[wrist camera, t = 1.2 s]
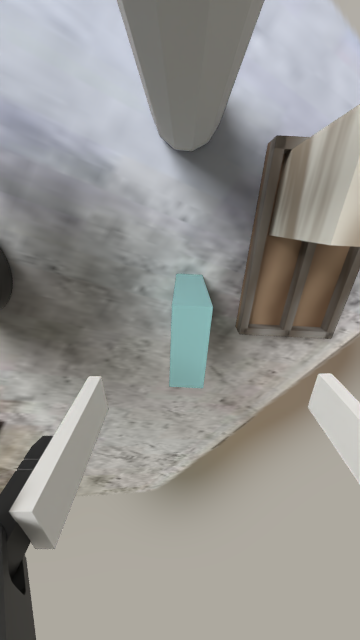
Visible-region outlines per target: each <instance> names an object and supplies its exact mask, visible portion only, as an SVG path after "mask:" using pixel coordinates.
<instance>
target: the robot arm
mask: <svg viewBox="0 0 360 640" xmlns="http://www.w3.org/2000/svg"><path fill="white" fill-rule="evenodd" d="M11 291H12V276H11V271H10V268H9V265H8V262H7V260H6V258H5V256H4V254H3V252H2V251H1V249H0V310H1V309H2V308H3V307H4V306H5V305H6V304H7V302H8V300H9V298H10V295H11ZM308 408H309V410H310V411H311V413H312V414H313V416H314V417H315V419H316V420H317V422H318V423H319V425H320V426H321V428H322V429H323V431H324V432H325V434H326V435H327V437H328V438H329V440H330V441H331V443H332V444H333V446H334V447H335V449H336V450H337V451H338V453H339V455H340V456H341V457H342V459H343V461H344V462H345V463H346V465H347V466H348V468H349V469H350V471H351V472H352V474H353V475H354V477H355V478H356V480H357V481H358V483H359V484H360V403H359V402H358V400H357V399H356V398H355V397H354V396H353V395H352V394H351V393H350V392H349V391H348V390H347V389H346V388H345V387H344V386H343V385H342V384H341V383H340V382H339V381H338V380H337V379H336V378H335V377H334V376H333V375H332V374H318V376H317V380H316V383H315V386H314V389H313V392H312V395H311V398H310V401H309V405H308ZM108 409H109V408H108V404H107V399H106V395H105V391H104V386H103V382H102V377H101V376H89V377H88V379H87V380H86V382H85V384H84V385H83V387H82V389H81V390H80V392H79V394H78V395H77V397H76V399H75V401H74V402H73V404H72V406H71V407H70V409H69V411H68V412H67V414H66V416H65V417H64V419H63V421H62V422H61V424H60V426H59V428H58V429H57V431H56V433H55V434H54V436H42V437H41V438H40V439H39V440H38V441H37V442H36V443H35V444H34V445H33V446H32V447H31V449H30V450H29V452H28V453H27V455H26V456H25V458H24V460H23V461H22V462H21V464H20V465H19V467H18V468H17V471H15V473H14V474H13V476H12V477H11V479H10V480H9V482H8V483H7V485H6V486H5V488H4V489H3V491H2V492H1V494H0V640H36V635H35V628H34V619H33V611H32V602H31V595H30V587H29V578H28V569H27V562H26V557H25V552H26V550H27V548H28V546H29V544H30V542H31V543H32V545H33V546H34V548H35V549H55V547H56V544H57V542H58V539H59V537H60V534H61V531H62V529H63V526H64V524H65V521H66V519H67V516H68V513H69V511H70V508H71V505H72V503H73V500H74V498H75V495H76V493H77V490H78V487H79V485H80V482H81V480H82V477H83V474H84V472H85V469H86V467H87V464H88V461H89V459H90V456H91V454H92V451H93V448H94V446H95V443H96V441H97V438H98V435H99V433H100V430H101V428H102V425H103V422H104V420H105V417H106V415H107V412H108Z"/></svg>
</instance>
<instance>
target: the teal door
mask: <svg viewBox="0 0 360 640" xmlns="http://www.w3.org/2000/svg"><path fill="white" fill-rule="evenodd" d="M212 311H213V306H212V303H211V300H210V297H209V294H208V291H207V288H206V285H205V282H204V279H203V276H202V275H192V274H176V281H175V288H174V295H173V302H172V321H171V351H170V380H169V387H188V388H203V385H204V377H205V368H206V360H207V352H208V344H209V335H210V327H211V319H212Z"/></svg>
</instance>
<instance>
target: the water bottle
mask: <svg viewBox="0 0 360 640" xmlns="http://www.w3.org/2000/svg"><path fill="white" fill-rule="evenodd" d="M117 2H118V6H119V9H120V12H121V16H122V19H123V22H124V25H125V29H126V32H127V35H128V38H129V42H130V45H131V48H132V52H133V55H134V58H135V61H136V65H137V68H138V71H139V75H140V78H141V81H142V84H143V88H144V91H145V94H146V98H147V101H148V104H149V107H150V111H151V114H152V117H153V120H154V122H155V125H156V127H157V130H158V132H159V135H160V137H161V138H162V139H163V140H164V141H166V142H167V143H168V144H169V145H170V146H171V147H172V148H174V149H175V150H183V151H194V150H196V149H197V148H199V147H201V146H203V145H204V144H206V143H208V142H209V140H210V139H211V137H212V135H213V134H214V132H215V130H216V129H217V127H218V125H219V124H220V121H221V118H222V116H223V113H224V110H225V107H226V105H227V102H228V99H229V96H230V94H231V91H232V88H233V85H234V83H235V80H236V77H237V74H238V72H239V69H240V66H241V63H242V61H243V58H244V55H245V52H246V50H247V47H248V44H249V41H250V39H251V36H252V33H253V30H254V28H255V25H256V22H257V19H258V17H259V14H260V11H261V8H262V5H263V3H264V0H117Z"/></svg>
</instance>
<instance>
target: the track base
mask: <svg viewBox="0 0 360 640" xmlns="http://www.w3.org/2000/svg"><path fill="white" fill-rule="evenodd" d="M359 269H360V104H359V105H358V106H356V107H355V108H353V109H352V110H350V111H349V112H347V113H346V114H344V115H343V116H341V117H340V118H338V119H337V120H335V121H334V122H332V123H331V124H329V125H328V126H326V127H325V128H323V129H322V130H320V131H319V132H317V133H316V134H314V135H313V136H311V137H296V136H276V137H275V138H274V139H273V140H272V141H270V142H269V143H268V146H267V151H266V157H265V162H264V168H263V174H262V179H261V185H260V191H259V196H258V202H257V208H256V213H255V219H254V225H253V230H252V236H251V242H250V247H249V253H248V259H247V264H246V270H245V276H244V281H243V287H242V293H241V298H240V304H239V309H238V315H237V321H236V328H237V330H238V332H239V334H245V335H265V336H285V337H305V338H325V339H331V338H332V336H333V333H334V331H335V328H336V326H337V323H338V321H339V318H340V316H341V313H342V311H343V309H344V306H345V304H346V301H347V299H348V296H349V294H350V291H351V289H352V286H353V284H354V281H355V279H356V276H357V274H358V271H359Z"/></svg>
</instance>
